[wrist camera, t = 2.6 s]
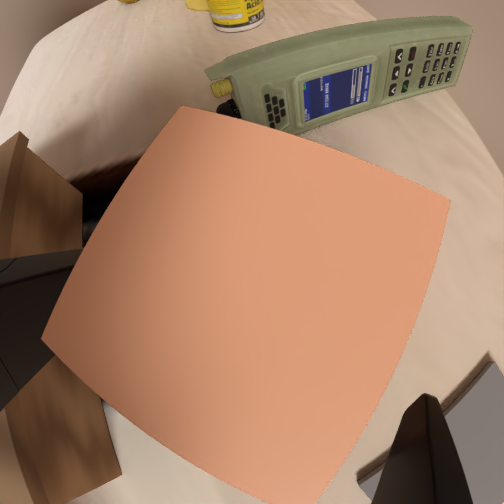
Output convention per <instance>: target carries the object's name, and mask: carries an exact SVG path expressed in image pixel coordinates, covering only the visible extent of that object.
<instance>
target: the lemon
mask: <svg viewBox="0 0 504 504" xmlns="http://www.w3.org/2000/svg"><path fill="white" fill-rule="evenodd" d="M118 1H121V2H133V3H134V2H136V1H137V0H118Z"/></svg>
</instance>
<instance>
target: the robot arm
mask: <svg viewBox="0 0 504 504" xmlns="http://www.w3.org/2000/svg"><path fill="white" fill-rule="evenodd" d="M83 249H84V248H81V249H73V250H65V251H58V252H50V253H43V254H36V255H28V256H21V257H14V258H7V259H0V412H1V411H2V410H3V409H4V408H5V407H6V405H7V404H8V403H9V402H10V401H11V400H12V399H13V398H14V397H15V396H16V395H17V394H18V393H19V392H20V390H21V389H22V388H23V387H24V386H25V385H26V384H27V383H28V382H29V381H30V380H31V379H32V378H33V377H34V376H35V375H36V374H37V373H38V372H39V371H40V370H41V369H42V368H43V367H44V366H45V365H46V364H47V363H48V362H49V361H50V360H51V359H52V358H53V357H54V356H55V355H56V354H55V353H54V352H53V351H52V350H51V349H50V348H49V347H48V346H47V345H46V344H45V343H44V341H43V340H42V339H41V337H42V335H43V333H44V330H45V328H46V325H47V323H48V321H49V318H50V316H51V314H52V312H53V309H54V307H55V305H56V303H57V301H58V298H59V296H60V294H61V292H62V290H63V288H64V286H65V284H66V282H67V280H68V278H69V276H70V274H71V272H72V270H73V268H74V266H75V264H76V262H77V260H78V259H79V257H80V255H81V253H82V251H83ZM371 504H473V501H472V497H471V493H470V490H469V486H468V483H467V480H466V476H465V473H464V470H463V467H462V464H461V461H460V458H459V455H458V452H457V449H456V446H455V443H454V440H453V437H452V435H451V432H450V429H449V427H448V424H447V421H446V419H445V416H444V414H443V411H442V409H441V406H440V404H439V401H438V399H437V398H436V397H435V396H432V395H430V394H427V393H424V394H422V395H421V396H420V397H419V398H418V399H417V400H416V401H415V402H414V403H413V404H411V405H410V406H409V407H408V408H407V410H406V411H405V412H404V414H403V417H402V419H401V422H400V425H399V428H398V431H397V433H396V436H395V439H394V441H393V444H392V446H391V449H390V451H389V454H388V456H387V459H386V462H385V464H384V467H383V470H382V474H381V477H380V480H379V483H378V486H377V489H376V492H375V495H374V497H373V500H372V503H371Z"/></svg>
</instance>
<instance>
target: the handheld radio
mask: <svg viewBox="0 0 504 504" xmlns="http://www.w3.org/2000/svg"><path fill="white" fill-rule="evenodd" d="M472 32H473V30H472V27H471V26H470V25H468V24H467V23H465V22H463V21H462V20H460V19H459V18H456V17H453V16H426V17H409V18H396V19H386V20H377V21H369V22H362V23H356V24H350V25H344V26H339V27H333V28H328V29H323V30H319V31H314V32H310V33H306V34H302V35H298V36H294V37H290V38H286V39H283V40H279V41H276V42H272V43H269V44H265V45H262V46H259V47H256V48H253V49H250V50H247V51H244V52H241V53H238V54H235V55H232V56H230V57H227V58H226V59H224V60H223V61H222V62H220V63H218V64H216V65H214V66H211V67H209V68H207V69H205V70H204V71H205V73H206V75H207V76H208V78H209V79H210V80H211V81H212V80H217V79H221V78H224V80H220V82H218V81H217V82H216V83H212V85H211V88H212V91H213V93H214V95H215V97H216V98H217V97H218V98H220V96H224V94H226V95H227V94H228V93H231V96H232V99H230V100H227V102H225V103H222V104H220V105H219V106H218V108H217V111H216V113H218V114H222V115H226V116H230V117H233V118H237V119H241V120H245V121H248V122H252V123H256V124H259V125H262V126H266V127H269V128H273V129H276V130H279V131H282V132H286V133H289V134H292V135H295V136H296V135H298V134H301V133H303V132H306V131H309V130H311V129H314V128H317V127H320V126H322V125H325V124H328V123H331V122H334V121H336V120H339V119H342V118H345V117H348V116H351V115H354V114H357V113H360V112H363V111H366V110H369V109H372V108H376V107H379V106H382V105H385V104H389V103H392V102H395V101H399V100H402V99H406V98H409V97H413V96H416V95H420V94H424V93H428V92H431V91H435V90H439V89H443V88H447V87H451V86H455V85H456V83H457V80H458V77H459V74H460V71H461V68H462V65H463V62H464V59H465V56H466V53H467V50H468V46H469V43H470V40H471V36H472ZM225 77H226V78H225ZM230 104H231V105H230ZM235 109H236V110H235ZM234 110H235V111H234ZM237 116H238V117H237Z"/></svg>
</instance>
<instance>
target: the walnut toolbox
mask: <svg viewBox="0 0 504 504" xmlns="http://www.w3.org/2000/svg"><path fill="white" fill-rule="evenodd" d="M28 141H29V139H28V138H27V137H26V136H25V135H23V134H22V133H21V132H20V131H19V132H18V133H16V134H15V135H14V136H12V137H11V138H10V139H8V140H7V141H6V142H5V143H3V144H2V145H1V146H0V259H7V258H14V257H21V256H28V255H36V254H43V253H50V252H58V251H65V250H73V249H81V248H82V204H83V194H82V193H81V192H79V191H78V190H77V189H76V188H75V187H73V186H72V185H71V184H70V183H69V182H67V181H66V180H65V179H64V178H63V177H61V176H60V175H59V174H58V173H57V172H55V171H54V170H53V169H52V168H51V167H50V166H48V165H47V164H46V163H45V162H44V161H43V160H41V159H40V158H39V157H38V156H37V155H36V154H35V153H33V152H32V151H31V150H30V149H29V148H28V147H27V145H28ZM121 475H122V473H121V470H120V467H119V464H118V461H117V458H116V454H115V451H114V448H113V444H112V441H111V438H110V434H109V430H108V427H107V423H106V419H105V415H104V411H103V407H102V402H101V398H100V396H99V395H98V394H96V393H95V392H94V391H93V390H92V389H91V388H90V387H89V386H87V385H86V384H85V383H84V382H83V381H82V380H81V379H80V378H79V377H78V376H77V375H76V374H75V373H74V372H73V371H72V370H71V369H70V368H68V367H67V366H66V365H65V364H64V363H63V362H62V360H61V359H60V358H59V357H58V356H57V355H55V356H54V357H53V358H52V359H51V360H50V361H49V362H48V363H47V364H46V365H45V366H44V367H43V368H42V369H41V370H40V371H39V372H38V373H37V374H36V375H35V376H34V377H33V378H32V379H31V380H30V381H29V382H28V383H27V384H26V385H25V386H24V387H23V388H22V389H21V390H20V392H19V393H18V394H17V395H16V396H15V397H14V398H13V399H12V400H11V401H10V402H9V403H8V404H7V405H6V407H5V408H4V409H3V410H2V411H1V412H0V504H63V503H66V502H68V501H70V500H72V499H74V498H77V497H79V496H81V495H83V494H85V493H87V492H89V491H91V490H93V489H95V488H97V487H99V486H101V485H103V484H105V483H107V482H109V481H111V480H113V479H115V478H117V477H119V476H121Z"/></svg>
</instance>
